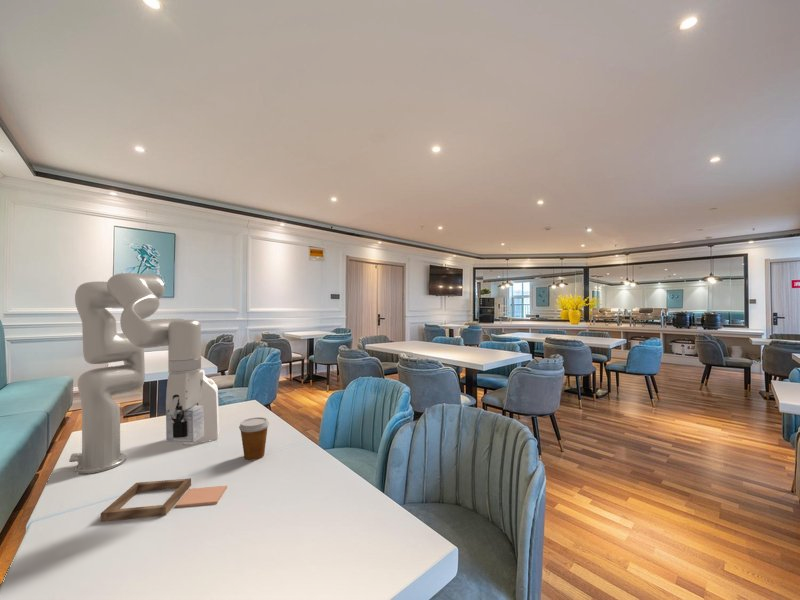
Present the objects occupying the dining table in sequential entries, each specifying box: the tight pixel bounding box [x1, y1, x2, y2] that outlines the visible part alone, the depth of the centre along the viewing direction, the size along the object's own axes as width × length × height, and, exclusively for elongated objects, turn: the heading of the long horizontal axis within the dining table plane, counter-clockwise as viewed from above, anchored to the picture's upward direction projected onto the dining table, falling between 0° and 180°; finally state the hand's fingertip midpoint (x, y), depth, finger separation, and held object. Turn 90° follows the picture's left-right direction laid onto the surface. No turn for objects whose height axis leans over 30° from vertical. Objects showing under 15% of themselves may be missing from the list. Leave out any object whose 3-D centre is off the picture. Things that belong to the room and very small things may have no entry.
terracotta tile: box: [175, 485, 228, 508], centre depth 94 cm, size 10×8×1 cm
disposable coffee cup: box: [238, 416, 270, 461], centre depth 119 cm, size 10×10×12 cm
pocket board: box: [100, 477, 192, 522], centre depth 92 cm, size 14×14×2 cm
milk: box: [182, 369, 220, 445], centre depth 137 cm, size 12×12×26 cm
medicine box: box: [165, 406, 204, 443], centre depth 94 cm, size 8×4×9 cm, turn 84°
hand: (185, 432), depth 94 cm, fingers closed on medicine box, 5 cm apart
